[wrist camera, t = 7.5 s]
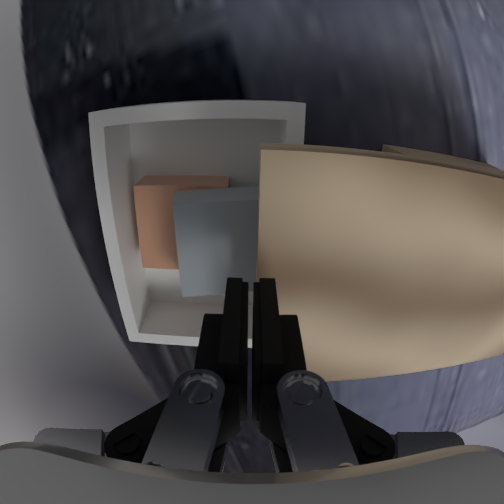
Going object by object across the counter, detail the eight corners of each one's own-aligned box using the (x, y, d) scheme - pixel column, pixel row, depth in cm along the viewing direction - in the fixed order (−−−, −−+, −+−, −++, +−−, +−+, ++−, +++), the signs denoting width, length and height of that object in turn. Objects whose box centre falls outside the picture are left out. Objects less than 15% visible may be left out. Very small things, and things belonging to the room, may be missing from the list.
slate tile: (283, 198, 14) (273, 186, 16) (172, 204, 14) (174, 190, 15) (277, 289, 17) (268, 269, 18) (182, 297, 16) (182, 276, 18)
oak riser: (257, 125, 17) (260, 149, 10) (488, 157, 17) (567, 197, 10) (253, 291, 22) (253, 383, 15) (453, 288, 22) (502, 354, 15)
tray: (119, 107, 16) (88, 112, 12) (294, 101, 16) (306, 103, 12) (145, 304, 22) (129, 340, 19) (280, 308, 23) (285, 347, 19)
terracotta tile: (227, 186, 16) (230, 176, 17) (133, 185, 16) (144, 175, 17) (226, 271, 18) (228, 254, 20) (142, 267, 18) (151, 251, 20)
